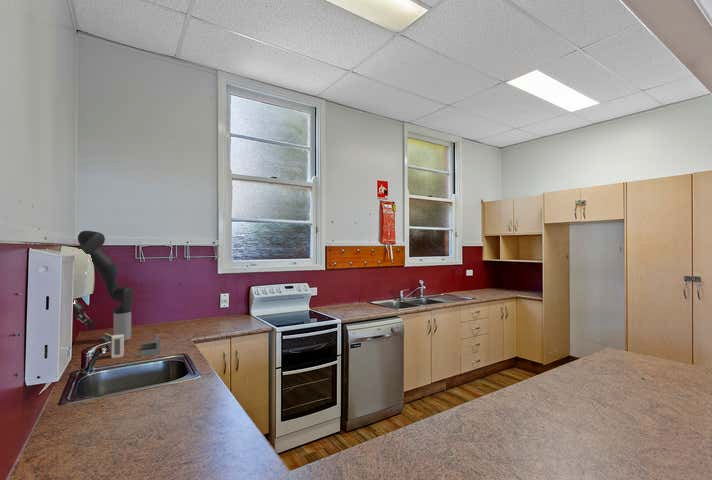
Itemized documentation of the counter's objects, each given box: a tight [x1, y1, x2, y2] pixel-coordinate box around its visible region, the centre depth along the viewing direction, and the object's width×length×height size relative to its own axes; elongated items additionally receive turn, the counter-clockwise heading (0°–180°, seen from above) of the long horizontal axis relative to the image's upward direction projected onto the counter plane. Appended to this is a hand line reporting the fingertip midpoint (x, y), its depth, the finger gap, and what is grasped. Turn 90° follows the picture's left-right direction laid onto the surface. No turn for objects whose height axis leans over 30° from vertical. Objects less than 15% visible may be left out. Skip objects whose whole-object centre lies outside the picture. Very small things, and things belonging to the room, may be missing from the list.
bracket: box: [139, 332, 161, 358], centre depth 196 cm, size 14×9×8 cm, turn 31°
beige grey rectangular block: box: [111, 334, 125, 359], centre depth 188 cm, size 5×5×11 cm
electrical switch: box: [99, 333, 114, 352], centre depth 197 cm, size 9×5×9 cm, turn 57°
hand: (93, 327), depth 182 cm, fingers open, 8 cm apart
